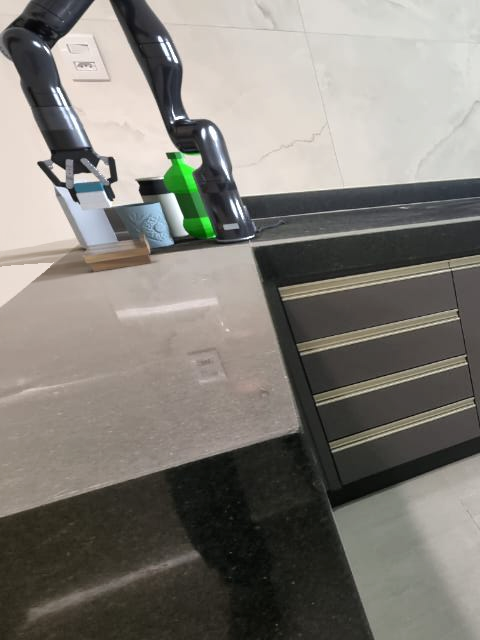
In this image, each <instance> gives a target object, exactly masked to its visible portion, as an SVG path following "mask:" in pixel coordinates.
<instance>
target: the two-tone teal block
mask: <svg viewBox="0 0 480 640" xmlns="http://www.w3.org/2000/svg"><path fill="white" fill-rule="evenodd" d="M73 186H74V188H75V191H76V193H77V194H76V195H77V198H78V200H79V202H80V205H81V207H82V209H83V210H92V209H101V208H103V209H110V208H112V204H113V201H111V202H110V200H109V199H108V197H107V194H106V192H105V190H104V188H103V186H104V185H103V183H102V182H101V181H100V180H97V181H87V182H84V183H75V184H74V185H73Z"/></svg>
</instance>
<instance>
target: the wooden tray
mask: <svg viewBox="0 0 480 640" xmlns="http://www.w3.org/2000/svg"><path fill="white" fill-rule="evenodd" d="M151 253H152V252H151V249H150V245H149V242H148V240H147V237H146V235H145V233H144V232H140V239H134V240H133V239H129V240H128V239H127V240H121V241H119V240H118V242H112V243H104V244H97V245H89V246H88V247H87V249H85V251H84V253H83V255H82V256H83V259H84V261H85V263H86V264H89V265H90V267H91V269H92V271H93V273H95V272H102V271H107V270H108V271H109V270H115V269H121V268H128V267H134V266H140V265H147V264H152V262H153V261H152V259H151V257H150V255H151Z"/></svg>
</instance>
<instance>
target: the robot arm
mask: <svg viewBox="0 0 480 640" xmlns="http://www.w3.org/2000/svg"><path fill="white" fill-rule="evenodd" d="M95 1H96V0H29V1H28V3H27V4H26V5H25V7H24V9H23V10H22V12H21V13H20V14H19V15H18V16H17V17H16V18H15V19H13V20H12V21H11V23H9V25H7V26H6V27H5V28H4V30H2V31H1V32H0V53H1V54H2V55H3V57H5V58H6V59H7V60H8V61H10V62H12V63H13V65H14V68H15V70H16V73H17V74H18V76H19V85H20V89H21V91H22V94H23V95H24V98H25V100H26V102H27V104H28V106H29V107H30V111H31V114H32V117H33V119H34V121H35V124H36V126H37V127H38V129H39V131H40V134H41V136H42V138H43V140H44V142H45V144H46V146H47V149H48V150H49V152H50V158H49V159H45V160H39V161H37V162H36V164H37V166H38V167H39V168H40V170H41V171H42V172H43V173H44V174H45V176H46V177H47V178H48V179H49V180H50V182H51V183H52V185H53V184H54V185H55V186H57V187H64V188H66V189H68V191H69V193H70V195H71V197H72V199H73V201H74V202H78V203H79V205H80V202H79V200H78V198H77V195H76V194H77V193H76V191H75V188H74V186H73V185H74V180H75V175H80V174H92V175H94V176H95V178H97V180H98V181H101V182H102V184H103V188H104V190H105V192H106V194H107V197H108V199H109V200H110V202H114V199H116V194H115V192H114V190H113V188H112V184H114V183H117V182H118V181H119V178H118V173H117V164H116V159H115V157H114V156H105V155H100V154H98V152H96V150H95V149H94V147H93V144H92V143H91V140H90V138H89V136H88V134H87V132H86V129H85V128H84V123H83V122H82V121H81V118H80V117H79V114H78V113H77V111H76V110H75V108H74V107H73V104H72V102H71V99H70V97H69V95H68V94H67V91H66V90H65V87H64V86H63V83H62V80H61V76H60V72H59V69H58V66H57V63H56V59H55V57H54V54H53V52H52V49H53V48H54V47H55V45H56V44H57V43H58V41H59V40H61V39H63V38H64V37H66V36H67V35H68V34H69V33H70V32H71V31H72V30H73V28H75V26H76V25H77V24H78V23H79V22H80V20H81V19H82V18H83V16H84V15H85V14H86V12H87V11H88V10H89V9H90V7H91V6H92V5H93V4H94V2H95ZM108 1H109V3H110V5H111V8H112V10H113V12H114V15H115V17H116V19H117V21H118V24H119V26H120V28H121V30H122V32H123V34H124V36H125V39H126V41H127V43H128V46H129V48H130V50H131V52H132V54H133V57H134V58H135V61H136V62H137V64H138V66H139V68H140V70H141V72H142V75H143V76H144V78H145V80H146V82H147V85H148V88H149V89H150V92H151V94H152V96H153V99H154V101H155V103H156V106H157V109H158V112H159V114H160V117H161V120H162V123H163V125H164V128H165V131H166V133H167V135H168V137H169V140H170V141H171V143H172V145H173V146H174V148H176V149H177V151H178V152H181V153H183V154H184V156H200V158H201V164H200V165H199V166H198V167H197V168H194V169H195V170H194V171H193V172H192V176H193V179H194V181H195V184H196V186H197V189H198V192H199V194H200V197H201V199H202V202H203V205H204V207H205V210H206V212H207V215H208V218H209V220H210V223H211V225H212V228H213V231H214V233H215V236H216V237H215V238H216V239H215V240H216V243H218V244H229V243H238V242H245V241H249V240H253V239H255V238H256V237H257V233H261V232H262V230H264V229H270V228H274V227H277V226H278V225H280V224H284V225H285V224H287V223H286V222H285V221H284V220H283V219H279V220H277V221H276V222H275V223H272V224H268V225H262V226H260V227H257V226H256V225H255V221H253V220H252V217H251V216H250V213H249V210H248V207H247V205H246V204H244V203H243V200H242V198H241V195H240V192H239V190H238V186H237V184H236V181H235V178H234V174H233V164H232V160H231V156H230V153H229V149H228V146H227V142H226V140H225V137H224V135H223V132H222V130H221V129H220V128H219V126H218V125H217V124H216V123H215V122H213V121H212V120H211V119H207V118H190V116H189V115H188V113H187V110H186V108H185V105H184V103H183V98H182V89H183V88H182V87H183V79H184V65H183V61H182V58H181V56H180V53H179V50H178V49H177V46H176V44H175V42H174V40H173V37H172V36H171V34H170V32H169V31H168V29H167V28H166V26H165V24H163V22H162V20H161V19H160V18H159V17H158V16H157V14H156V13H155V12H154V10H153V9H152V8H151V6H150V5H149V4H148V2H147V0H108ZM100 161H102V162H103V164H104V165H105V166H108V168H109V169H108V170H109V175H110V177H108V178H107V177H105V176H104V175H103V173H102V172H101V171H100V170H99V169H98V168H97V167H98V165H99V163H100ZM53 164H55V165H57V167H59V168H61V169H62V170H64V171H65V181H66V182H62V181H61V180H60V179H59V178H58V176H57V175H56V174H55V172H54V171H53V169H54V165H53ZM54 185H53V186H54ZM256 232H257V233H256Z"/></svg>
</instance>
